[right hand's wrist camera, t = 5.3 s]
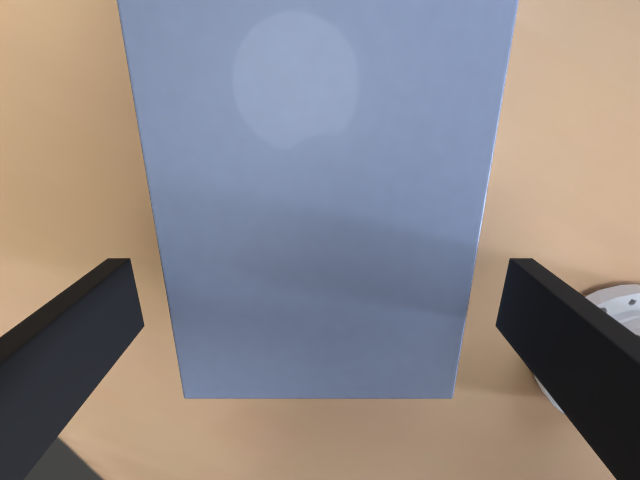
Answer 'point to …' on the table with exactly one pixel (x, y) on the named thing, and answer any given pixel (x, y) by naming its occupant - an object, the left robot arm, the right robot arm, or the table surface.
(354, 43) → the cabinet
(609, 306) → the mechanical component
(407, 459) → the table surface
